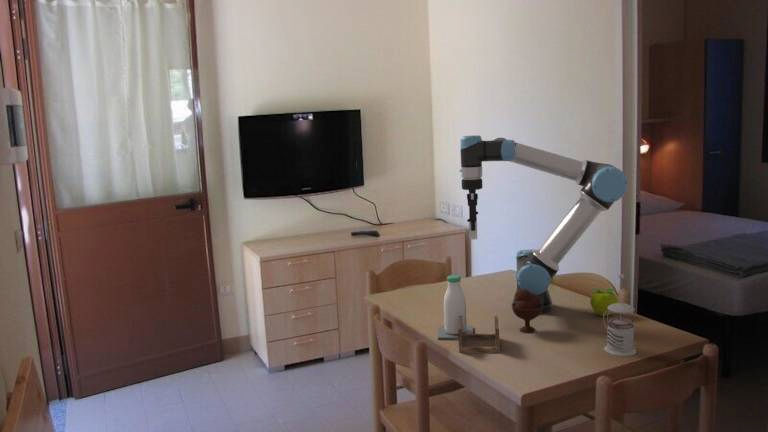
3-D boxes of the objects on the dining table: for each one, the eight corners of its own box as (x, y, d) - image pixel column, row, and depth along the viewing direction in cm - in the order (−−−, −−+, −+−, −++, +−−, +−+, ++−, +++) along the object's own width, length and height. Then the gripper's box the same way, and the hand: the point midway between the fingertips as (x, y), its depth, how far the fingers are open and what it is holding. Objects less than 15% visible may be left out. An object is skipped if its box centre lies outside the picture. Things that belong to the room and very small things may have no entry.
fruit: (589, 310, 241) (589, 285, 240) (614, 311, 239) (615, 285, 238) (591, 318, 233) (591, 292, 231) (618, 319, 231) (618, 292, 229)
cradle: (498, 338, 218) (497, 315, 216) (499, 352, 205) (498, 328, 204) (459, 338, 220) (459, 315, 218) (459, 352, 207) (458, 328, 206)
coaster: (473, 327, 229) (472, 325, 229) (473, 339, 218) (472, 337, 217) (439, 327, 231) (439, 325, 231) (437, 339, 219) (437, 337, 219)
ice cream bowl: (526, 338, 216) (525, 295, 214) (505, 329, 226) (504, 288, 224) (550, 332, 221) (549, 290, 219) (528, 323, 231) (528, 283, 228)
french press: (619, 358, 196) (620, 279, 192) (593, 346, 206) (593, 271, 202) (643, 351, 200) (645, 274, 196) (616, 340, 210) (617, 267, 206)
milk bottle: (465, 335, 220) (464, 279, 216) (443, 334, 221) (441, 279, 218) (467, 327, 227) (465, 273, 224) (445, 327, 229) (443, 273, 225)
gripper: (462, 175, 244) (463, 229, 247) (460, 182, 220) (462, 242, 223) (481, 174, 243) (483, 228, 246) (482, 181, 218) (484, 242, 222)
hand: (473, 235), depth 235 cm, fingers open, 13 cm apart
